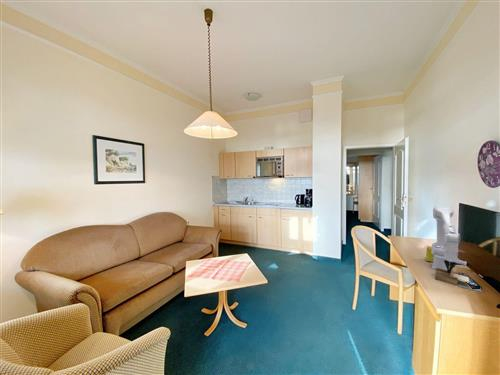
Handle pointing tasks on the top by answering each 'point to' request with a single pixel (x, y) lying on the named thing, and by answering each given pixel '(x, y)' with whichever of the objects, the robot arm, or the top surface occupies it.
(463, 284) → the slate mat
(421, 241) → the top surface
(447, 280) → the walnut box
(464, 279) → the lid
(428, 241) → the top surface
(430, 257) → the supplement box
